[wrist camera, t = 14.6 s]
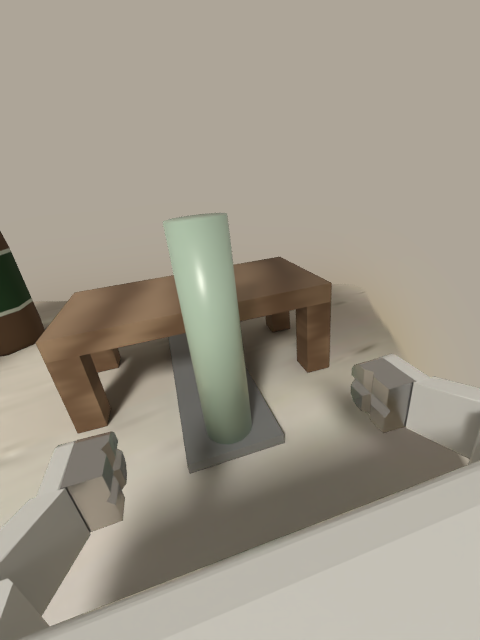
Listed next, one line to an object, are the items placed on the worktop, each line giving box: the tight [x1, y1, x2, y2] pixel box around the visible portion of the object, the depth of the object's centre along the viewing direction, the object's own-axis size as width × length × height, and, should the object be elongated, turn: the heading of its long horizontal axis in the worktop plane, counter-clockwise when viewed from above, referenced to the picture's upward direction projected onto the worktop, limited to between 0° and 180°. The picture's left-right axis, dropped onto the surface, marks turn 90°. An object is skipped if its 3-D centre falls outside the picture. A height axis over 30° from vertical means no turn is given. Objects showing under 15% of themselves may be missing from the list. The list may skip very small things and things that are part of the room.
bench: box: [36, 257, 332, 433], centre depth 26 cm, size 20×10×8 cm, turn 105°
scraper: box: [163, 213, 284, 473], centre depth 22 cm, size 17×6×14 cm, turn 17°
